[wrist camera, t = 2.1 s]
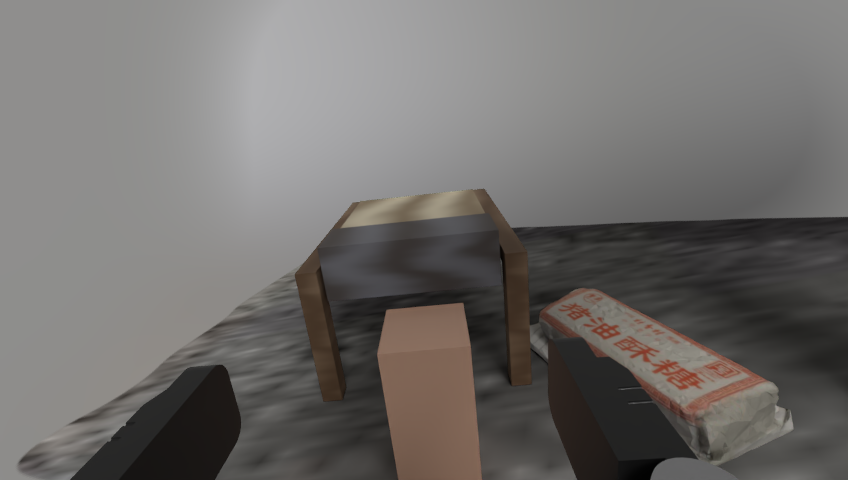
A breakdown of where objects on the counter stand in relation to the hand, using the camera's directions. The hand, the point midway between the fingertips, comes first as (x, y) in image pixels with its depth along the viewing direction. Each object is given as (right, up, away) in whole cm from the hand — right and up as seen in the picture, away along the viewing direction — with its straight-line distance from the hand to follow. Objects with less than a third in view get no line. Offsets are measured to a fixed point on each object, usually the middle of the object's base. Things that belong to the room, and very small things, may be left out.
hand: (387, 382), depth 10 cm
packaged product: (+18, -8, +23) cm, 30 cm away
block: (+2, -11, +17) cm, 20 cm away
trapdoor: (0, +2, +30) cm, 30 cm away
